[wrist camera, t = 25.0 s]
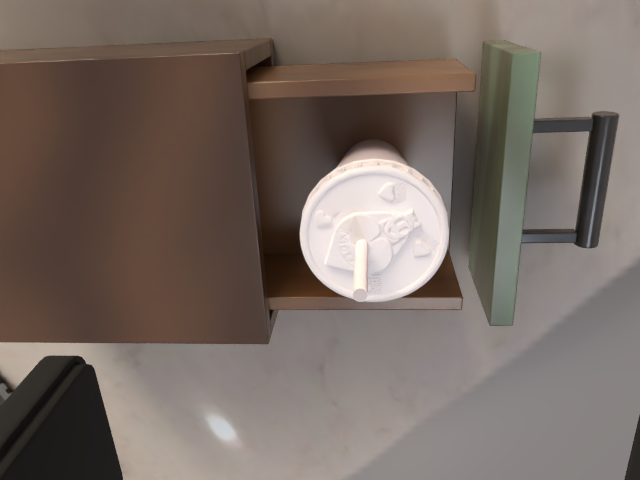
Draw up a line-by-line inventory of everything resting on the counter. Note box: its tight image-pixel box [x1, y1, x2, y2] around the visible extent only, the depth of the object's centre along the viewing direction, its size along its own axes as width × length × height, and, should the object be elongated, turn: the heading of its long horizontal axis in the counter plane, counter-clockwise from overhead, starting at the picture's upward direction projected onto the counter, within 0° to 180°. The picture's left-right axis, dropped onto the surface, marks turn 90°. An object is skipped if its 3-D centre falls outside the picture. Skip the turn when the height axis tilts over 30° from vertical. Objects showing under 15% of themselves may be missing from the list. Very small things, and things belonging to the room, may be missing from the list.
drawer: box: [246, 40, 619, 326], centre depth 30 cm, size 20×14×7 cm, turn 93°
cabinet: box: [0, 38, 278, 344], centre depth 32 cm, size 17×15×9 cm
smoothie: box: [300, 139, 449, 302], centre depth 26 cm, size 6×6×14 cm
